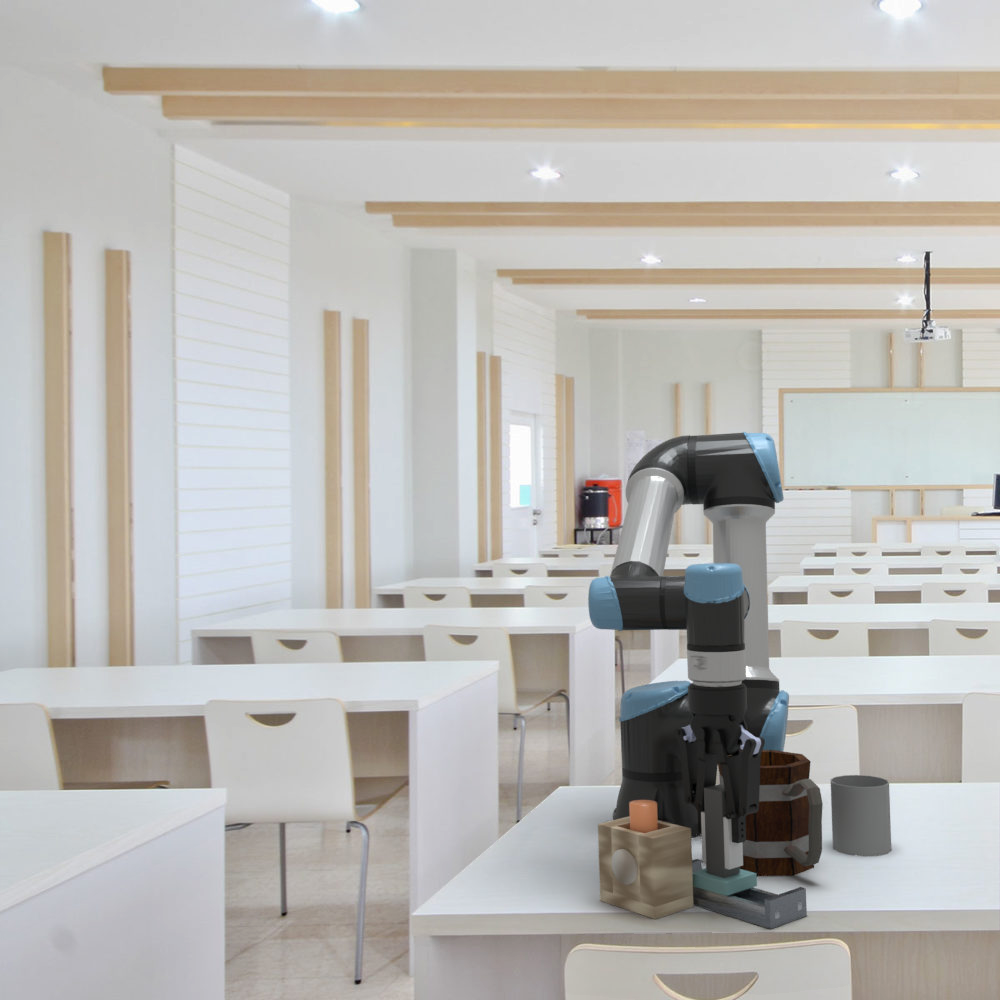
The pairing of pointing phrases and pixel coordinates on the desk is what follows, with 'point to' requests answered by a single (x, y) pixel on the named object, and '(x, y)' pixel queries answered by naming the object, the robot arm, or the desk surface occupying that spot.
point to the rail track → (753, 904)
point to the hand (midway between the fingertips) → (722, 863)
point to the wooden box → (645, 868)
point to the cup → (861, 815)
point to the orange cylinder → (643, 816)
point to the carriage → (719, 850)
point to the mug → (783, 818)
